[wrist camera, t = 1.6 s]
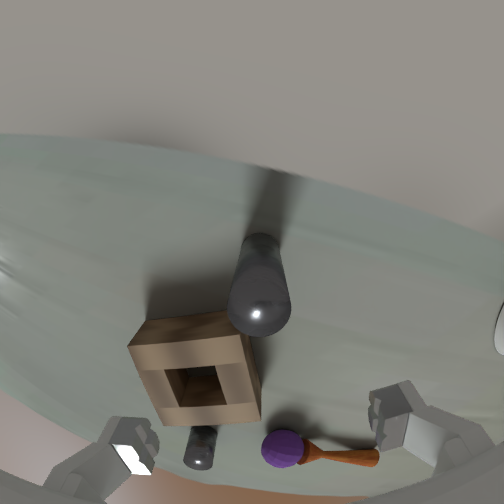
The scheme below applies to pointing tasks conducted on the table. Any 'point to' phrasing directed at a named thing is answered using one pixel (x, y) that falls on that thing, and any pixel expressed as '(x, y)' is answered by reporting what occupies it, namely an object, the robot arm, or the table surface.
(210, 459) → the short pin
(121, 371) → the table surface
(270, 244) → the long pin
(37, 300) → the table surface
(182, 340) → the hole block
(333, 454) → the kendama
